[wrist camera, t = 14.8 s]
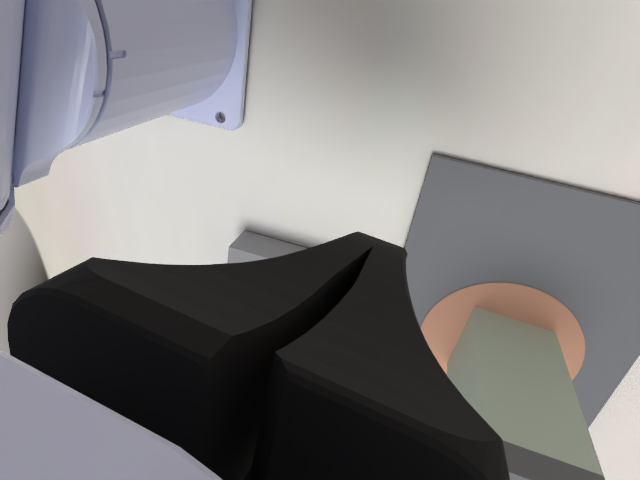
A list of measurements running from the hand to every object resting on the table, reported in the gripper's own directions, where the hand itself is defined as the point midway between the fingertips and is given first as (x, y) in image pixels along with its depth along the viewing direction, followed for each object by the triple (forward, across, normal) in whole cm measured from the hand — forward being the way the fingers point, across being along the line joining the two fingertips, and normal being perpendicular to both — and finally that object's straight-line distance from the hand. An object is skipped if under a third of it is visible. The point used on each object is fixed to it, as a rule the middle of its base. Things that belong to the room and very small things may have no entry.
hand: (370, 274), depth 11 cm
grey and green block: (+11, -6, +8) cm, 15 cm away
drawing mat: (+12, -6, +8) cm, 15 cm away
